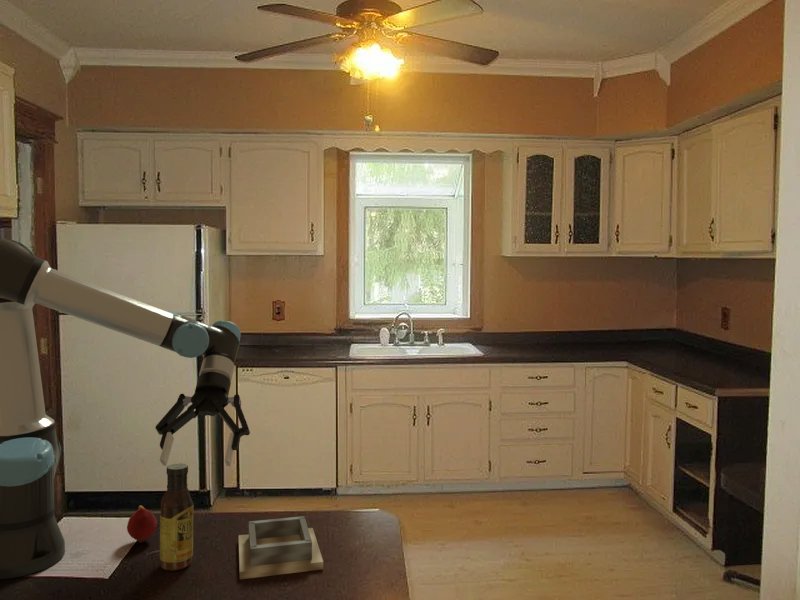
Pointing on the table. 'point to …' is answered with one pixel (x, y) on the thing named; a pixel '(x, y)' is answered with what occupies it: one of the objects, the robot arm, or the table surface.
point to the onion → (141, 524)
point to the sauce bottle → (176, 520)
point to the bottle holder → (278, 548)
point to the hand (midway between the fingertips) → (195, 463)
